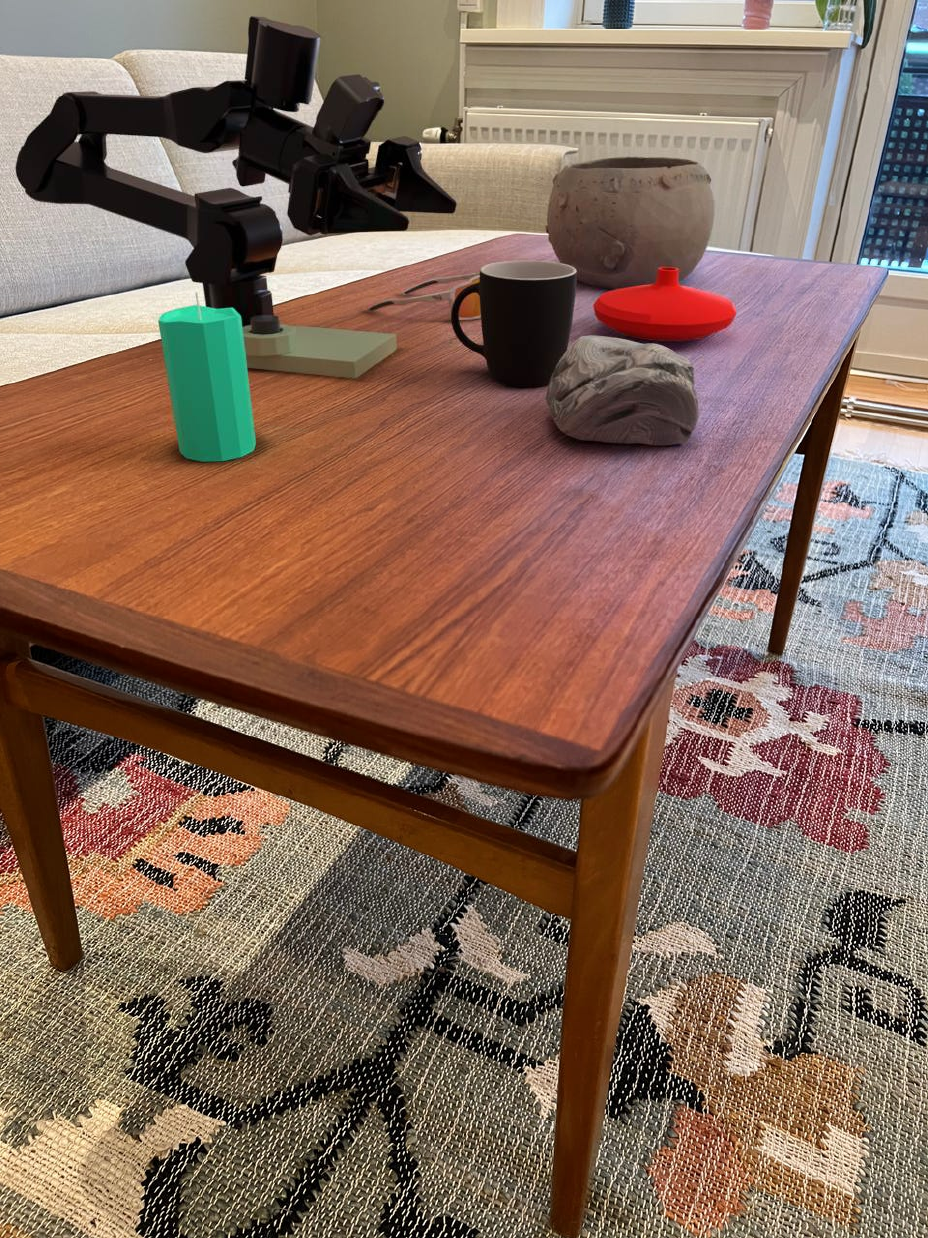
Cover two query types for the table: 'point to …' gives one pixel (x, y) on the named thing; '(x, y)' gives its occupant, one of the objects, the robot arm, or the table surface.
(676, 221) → the bowl
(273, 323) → the button
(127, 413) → the table surface
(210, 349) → the candle
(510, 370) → the mug
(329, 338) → the khaki base plate
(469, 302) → the sunglasses
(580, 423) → the decorative stone
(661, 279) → the red vase
